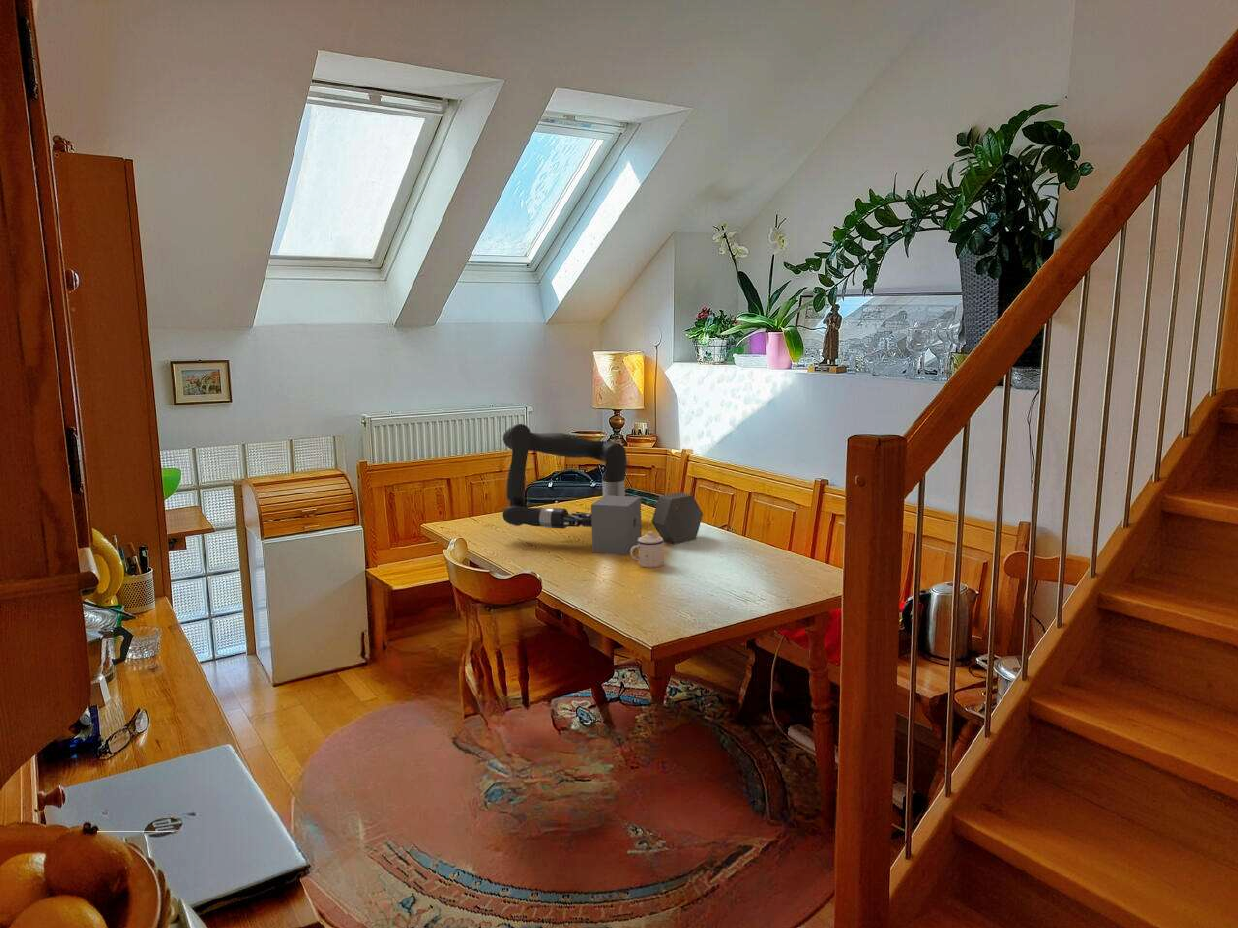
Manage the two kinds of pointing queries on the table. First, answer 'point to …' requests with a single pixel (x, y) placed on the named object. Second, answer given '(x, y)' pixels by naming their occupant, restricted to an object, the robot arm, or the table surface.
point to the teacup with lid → (649, 550)
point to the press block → (615, 524)
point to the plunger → (586, 516)
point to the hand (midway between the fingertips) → (595, 520)
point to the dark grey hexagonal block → (677, 517)
